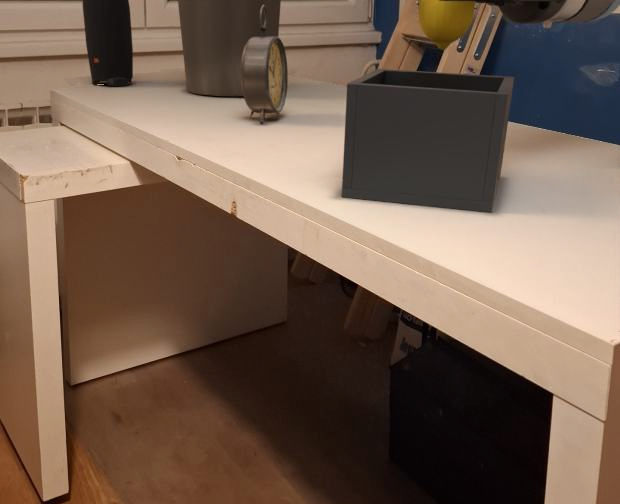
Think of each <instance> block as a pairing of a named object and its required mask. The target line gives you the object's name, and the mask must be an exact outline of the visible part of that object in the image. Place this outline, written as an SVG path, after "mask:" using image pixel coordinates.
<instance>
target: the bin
mask: <svg viewBox="0 0 620 504" xmlns="http://www.w3.org/2000/svg"><path fill="white" fill-rule="evenodd" d="M514 83H515V77H514V76H504V75H488V74H487V75H486V74H473V73H472V74H471V73H469V74H468V73H455V72H437V71H421V70H405V69H390V68H389V69H388V68H387V69H386V68H377V69H375V70H373V71H370V72H369V73H367V74H364V75H362V76H361V77H359V78H356V79H354V80H352V81H350V82H349V83H346V98H345V101H346V102H345V120H344V121H345V122H344V138H343V139H344V141H343V159H342V161H343V162H342V179H341V180H342V181H341V187H342V188H341V198H347V199H358V200H367V201H375V202H376V201H377V202H387V203H397V204H404V205H416V206H423V207H433V208H434V207H435V208H443V209H454V210H462V211H463V210H464V211H473V212H483V213H492V211H493V209H494V205H495V200H496V196H497V192H498V188H499V184H500V180H501V175H502V169H503V168H502V167H503V161H504V153H505V147H506V140H507V132H508V125H509V120H510V119H509V118H510V117H509V116H510V110H511V106H512V105H511V104H512V97H513V89H514Z"/></svg>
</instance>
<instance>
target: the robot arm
mask: <svg viewBox="0 0 620 504" xmlns="http://www.w3.org/2000/svg"><path fill="white" fill-rule="evenodd" d="M439 1H475V4H487V5H488V6H496V7H498V9H499V11H500V12H501V14H502V15H503V16H504V17H505V18H506V19H507V20H509V21H510V22H512V23H515V24H521V25H522V24H524V25H526V24H527V25H529V24H540V23H542V27H543V28H544V29H550V28H552V24H553V23H590V22H593V21H598V20H601V19H604V18H606V17H608V16H609V15H611V14H612V13H614V12H615V11H616V10H617V9H618V8H619V6H620V0H439Z"/></svg>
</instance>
